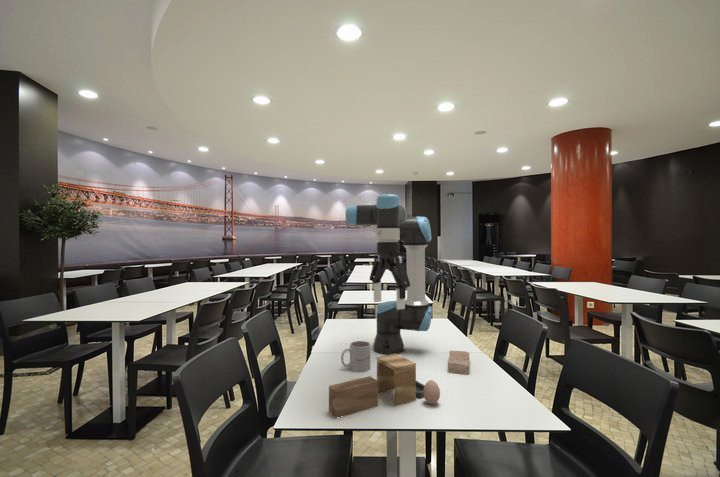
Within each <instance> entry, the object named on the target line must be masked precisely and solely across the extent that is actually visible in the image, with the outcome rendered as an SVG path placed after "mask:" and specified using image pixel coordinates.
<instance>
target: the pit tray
mask: <svg viewBox="0 0 720 477" xmlns="http://www.w3.org/2000/svg"><path fill="white" fill-rule="evenodd" d="M424 386H425V384H423V383H422V382H420V381H418V380H416V399H418V400H419V399H423V398H424V395H423V390H424Z"/></svg>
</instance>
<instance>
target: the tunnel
mask: <svg viewBox="0 0 720 477" xmlns="http://www.w3.org/2000/svg"><path fill="white" fill-rule="evenodd" d="M416 372H417V363H416V362H414V361H412V360H410V359H408V358H406V357H404V356H401V355H399V354H384V355H381V356H377V357H376V380H377V381H378V395H379V394H380V395H381V394H382V393H383V394H384V393H387V392H390V391H394V393H393V395H394V396H393V400H394V402H393V404H394V406H396V407H398V406H401V405H405V404H409V403H411V402H415V401H416V400H417V397H416V381H417V373H416Z"/></svg>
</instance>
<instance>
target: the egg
mask: <svg viewBox="0 0 720 477" xmlns="http://www.w3.org/2000/svg"><path fill="white" fill-rule="evenodd" d="M424 385H425V386H424V390H423V395H424V397H423V398H424V399H425V401H426V402H427V403H428V404H431V405H434V404H436V403H437V402H438V401H439V399H440V398H441V391H440V390H441V389H440V387H439V385H438V383H437V382H436V381H434V380H433V379H431V380H428V381H426V383H425V384H424Z"/></svg>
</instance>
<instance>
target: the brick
mask: <svg viewBox="0 0 720 477" xmlns="http://www.w3.org/2000/svg"><path fill="white" fill-rule="evenodd" d="M469 370H470V352H469V351H465V350H449V355H448V360H447V373H450V374H454V375H455V374H456V375H457V374H458V375H463V376H468V375H469V373H470V371H469Z"/></svg>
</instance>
